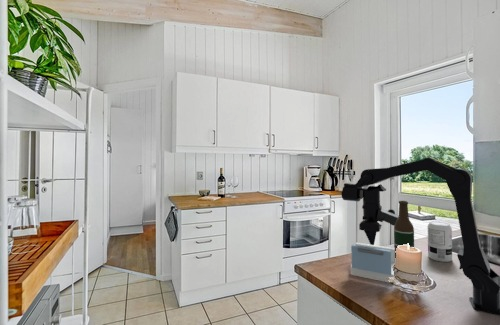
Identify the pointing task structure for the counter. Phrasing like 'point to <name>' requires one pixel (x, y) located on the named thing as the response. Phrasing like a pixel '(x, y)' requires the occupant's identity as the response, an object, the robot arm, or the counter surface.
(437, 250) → the supplement can
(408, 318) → the counter surface
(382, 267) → the panel
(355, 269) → the white stepped block
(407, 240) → the beer bottle
